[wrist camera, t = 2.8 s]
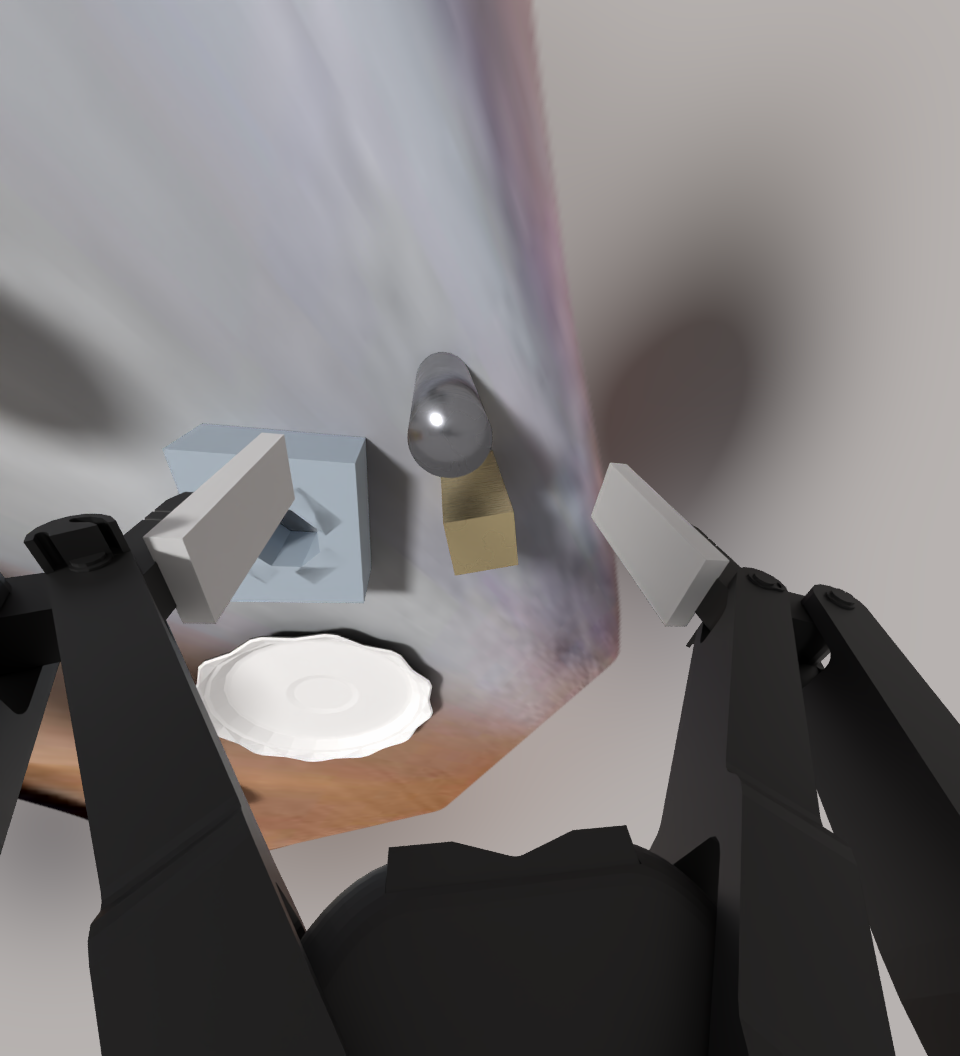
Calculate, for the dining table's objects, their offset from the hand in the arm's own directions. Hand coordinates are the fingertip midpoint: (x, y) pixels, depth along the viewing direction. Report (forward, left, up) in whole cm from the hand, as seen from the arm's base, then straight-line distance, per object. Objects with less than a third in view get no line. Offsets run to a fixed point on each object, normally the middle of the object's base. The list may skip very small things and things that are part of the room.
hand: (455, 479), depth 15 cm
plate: (+42, -13, -16) cm, 47 cm away
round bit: (0, 0, -16) cm, 16 cm away
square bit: (+8, +3, -16) cm, 18 cm away
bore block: (+12, -12, -16) cm, 23 cm away
